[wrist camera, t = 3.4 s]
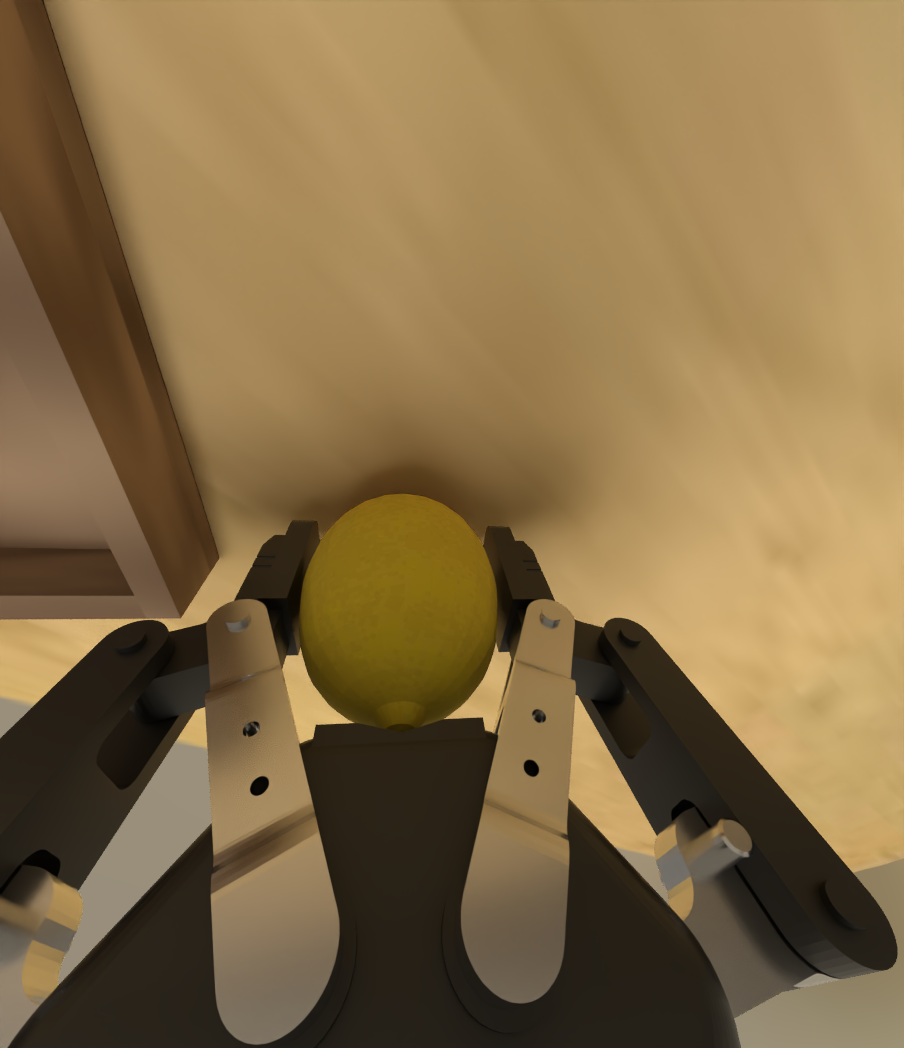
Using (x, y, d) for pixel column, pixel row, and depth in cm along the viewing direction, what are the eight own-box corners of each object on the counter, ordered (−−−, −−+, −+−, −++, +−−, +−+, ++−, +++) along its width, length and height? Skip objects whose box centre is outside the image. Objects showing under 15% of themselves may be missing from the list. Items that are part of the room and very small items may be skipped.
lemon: (307, 545, 15) (225, 776, 8) (365, 424, 12) (317, 614, 6) (430, 590, 17) (446, 803, 10) (503, 494, 14) (586, 693, 8)
